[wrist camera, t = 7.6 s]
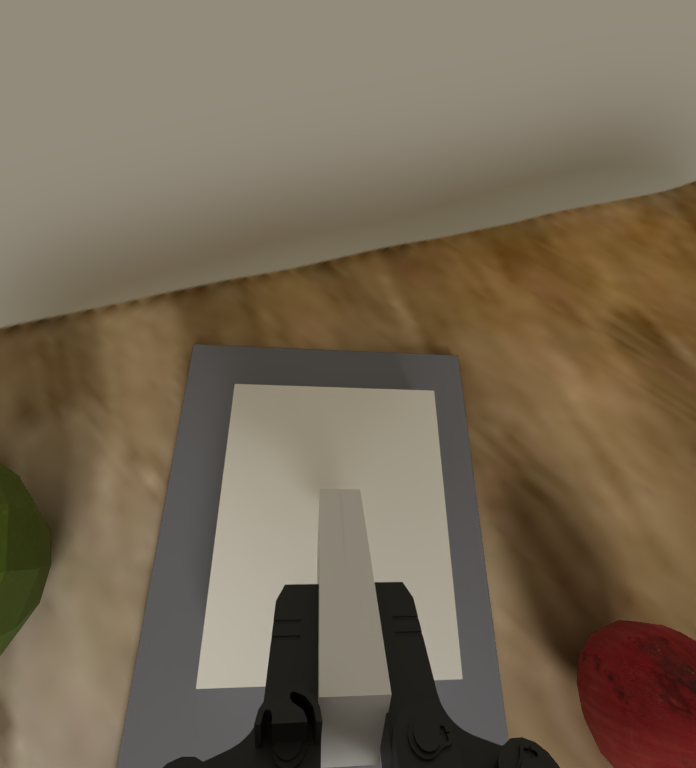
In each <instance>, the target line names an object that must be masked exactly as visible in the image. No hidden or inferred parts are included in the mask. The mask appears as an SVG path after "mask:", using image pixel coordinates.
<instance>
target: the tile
mask: <svg viewBox="0 0 696 768" xmlns="http://www.w3.org/2000/svg"><path fill="white" fill-rule="evenodd" d="M320 489H360V491H361V498H362V504H363V511H364V517H365V524H366V530H367V537H368V543H369V550H370V556H371V563H372V570H373V576H374V582H403V583H404V585H405V586H406V588H407V589H408V591H409V592H410V594H411V595H412V596H413V599H414V603H415V607H416V611H417V614H418V619H419V622H420V626H421V630H422V635H423V638H424V642H425V646H426V650H427V654H428V658H429V662H430V666H431V670H432V674H433V678H434V680H457V679H463V677H462V667H461V657H460V647H459V637H458V627H457V616H456V606H455V596H454V586H453V576H452V566H451V556H450V546H449V536H448V525H447V515H446V505H445V495H444V485H443V475H442V465H441V455H440V445H439V435H438V424H437V414H436V404H435V394H434V391H429V390H400V389H370V388H341V387H312V386H282V385H253V384H235V385H234V393H233V401H232V409H231V417H230V425H229V432H228V440H227V448H226V456H225V464H224V472H223V479H222V487H221V495H220V503H219V511H218V519H217V527H216V534H215V542H214V550H213V558H212V566H211V574H210V582H209V589H208V597H207V605H206V613H205V621H204V629H203V637H202V644H201V652H200V660H199V668H198V676H197V684H196V689H210V688H238V687H265V686H266V678H267V670H268V661H269V653H270V645H271V638H272V629H273V622H274V612H275V604H276V600H277V598H278V596H279V594H280V593H281V591H282V589H283V587H284V585H288V584H317V543H318V520H319V498H320Z"/></svg>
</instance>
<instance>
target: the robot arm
mask: <svg viewBox="0 0 696 768" xmlns="http://www.w3.org/2000/svg"><path fill="white" fill-rule="evenodd" d="M380 756H381V763H382V768H560V767H559V766H558V764H557V763H556V762H555V761H554V759H553V758H552V757H551V756H550V754H549V753H548V752H547V751H546V750H544V749H543V748H542V747H540V746H539V745H538V744H537V743H535V742H533V741H530V740H528V739H525V738H522V737H521V738H512V739H510V740H508V741H507V742H506V743H505V744H504V745H503V746H501V745H499V744H496V743H493V742H490V741H488V740H485V739H482V738H480V737H477V736H474V735H472V734H470V733H468V732H466V731H464V730H463V729H462V728H460V727H459V726H458V725H457V724H455V723H454V722H453V720H452V719H451V718H450V717H449V716H448V714H447V713H446V711H445V710H444V708H443V706H442V704H441V702H440V699H439V696H438V694H437V690H436V686H435V682H434V678H433V674H432V670H431V666H430V662H429V658H428V654H427V650H426V646H425V642H424V638H423V635H422V630H421V626H420V622H419V619H418V614H417V611H416V607H415V603H414V599H413V596H412V595H411V594H410V592H409V591H408V589H407V588H406V586H405V585H404V583H403V582H374V576H373V570H372V563H371V556H370V550H369V543H368V537H367V530H366V524H365V517H364V511H363V504H362V498H361V491H360V489H320V498H319V520H318V543H317V584H288V585H284V587H283V589H282V591H281V593H280V594H279V596H278V598H277V600H276V604H275V612H274V622H273V629H272V638H271V645H270V653H269V661H268V670H267V678H266V686H265V694H264V702H263V703H262V705H261V706H260V708H259V709H258V713H257V716H256V719H255V723H254V728H253V729H252V731H251V732H250V734H249V735H248V736H247V737H246V738H245V739H244V740H242V741H241V742H240V743H239V744H237V745H236V746H234V747H232V748H231V749H229V750H227V751H225V752H223V753H221V754H218V755H216V756H214V757H212V758H210V759H208V760H206V761H204V762H203V761H201V760H200V759H198V758H196V757H180V758H178V759H176V760H173V761H171V762H169V763H167V764H166V765H165V766H164V767H163V768H331V767H348V766H365V765H379V762H380Z"/></svg>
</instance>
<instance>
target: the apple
mask: <svg viewBox="0 0 696 768" xmlns="http://www.w3.org/2000/svg"><path fill="white" fill-rule="evenodd" d="M50 566H51V546H50V529H49V527H48V526H47V524H46V522H45V520H44V519H43V517H42V515H41V513H40V512H39V510H38V508H37V506H36V505H35V503H34V501H33V500H32V498H31V496H30V494H29V493H28V491H27V489H26V487H25V486H24V484H23V482H22V480H21V479H20V477H19V476H18V475H17V474H15V473H14V472H12V471H11V470H9V469H8V468H6V467H5V466H3V465H2V464H0V655H1V654H2V653H3V651H4V650H5V649H6V647H7V646H8V645H9V643H10V642H11V641H12V639H13V638H14V637H15V635H16V634H17V633H18V631H19V630H20V629H21V627H22V626H23V625H24V623H25V622H26V620H27V619H28V618H29V616H30V615H31V614H32V612H33V611H34V610H35V608H36V607H37V606H38V604H39V603H40V600H41V596H42V593H43V590H44V586H45V583H46V580H47V576H48V573H49V570H50Z"/></svg>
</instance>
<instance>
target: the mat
mask: <svg viewBox="0 0 696 768" xmlns="http://www.w3.org/2000/svg"><path fill="white" fill-rule="evenodd" d="M235 384H253V385H282V386H312V387H341V388H370V389H400V390H429V391H434V394H435V404H436V414H437V424H438V435H439V445H440V455H441V465H442V475H443V485H444V495H445V505H446V515H447V525H448V536H449V546H450V556H451V566H452V576H453V586H454V596H455V606H456V616H457V627H458V637H459V647H460V657H461V667H462V677H463V679H457V680H434V682H435V686H436V690H437V694H438V696H439V699H440V702H441V704H442V706H443V708H444V710H445V711H446V713H447V714H448V716H449V717H450V718H451V719H452V720H453V722H454V723H455V724H457V725H458V726H459V727H460V728H462V729H463V730H464V731H466V732H468V733H470V734H472V735H474V736H477V737H480V738H482V739H485V740H488V741H490V742H493V743H496V744H499V745H501V746H503V745H504V744H505V743H506V742H507V741H508V735H507V727H506V719H505V712H504V704H503V696H502V689H501V681H500V673H499V666H498V658H497V650H496V643H495V635H494V628H493V620H492V612H491V605H490V597H489V589H488V582H487V574H486V566H485V559H484V551H483V544H482V536H481V528H480V521H479V513H478V505H477V498H476V490H475V482H474V475H473V467H472V460H471V452H470V444H469V437H468V429H467V421H466V414H465V406H464V398H463V391H462V383H461V376H460V368H459V360H458V356H457V355H434V354H411V353H387V352H364V351H340V350H317V349H294V348H270V347H247V346H224V345H200V344H194V345H193V351H192V356H191V362H190V367H189V373H188V378H187V384H186V389H185V395H184V400H183V405H182V411H181V416H180V422H179V427H178V433H177V438H176V444H175V449H174V455H173V460H172V466H171V471H170V477H169V482H168V488H167V493H166V499H165V504H164V510H163V515H162V521H161V526H160V532H159V537H158V543H157V548H156V554H155V559H154V565H153V570H152V576H151V581H150V587H149V592H148V598H147V603H146V609H145V614H144V620H143V625H142V630H141V636H140V641H139V647H138V652H137V658H136V663H135V669H134V674H133V680H132V685H131V691H130V696H129V702H128V707H127V713H126V718H125V724H124V729H123V735H122V740H121V746H120V751H119V757H118V762H117V768H163V767H164V766H165V765H166V764H167V763H169V762H171V761H173V760H176V759H178V758H180V757H196V758H198V759H200V760H201V761H203V762H204V761H206V760H208V759H210V758H212V757H214V756H216V755H218V754H221V753H223V752H225V751H227V750H229V749H231V748H232V747H234V746H236V745H237V744H239V743H240V742H241V741H242V740H244V739H245V738H246V737H247V736H248V735H249V734H250V732H251V731H252V729H253V728H254V723H255V719H256V716H257V713H258V709H259V708H260V706H261V705H262V703H263V702H264V694H265V687H238V688H210V689H196V684H197V676H198V668H199V660H200V652H201V644H202V637H203V629H204V621H205V613H206V605H207V597H208V589H209V582H210V574H211V566H212V558H213V550H214V542H215V534H216V527H217V519H218V511H219V503H220V495H221V487H222V479H223V472H224V464H225V456H226V448H227V440H228V432H229V425H230V417H231V409H232V401H233V393H234V385H235ZM331 768H382V763H381V756H380V762H379V765H365V766H348V767H331Z"/></svg>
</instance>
